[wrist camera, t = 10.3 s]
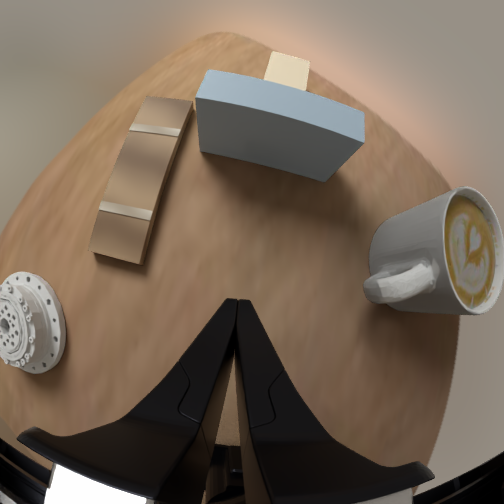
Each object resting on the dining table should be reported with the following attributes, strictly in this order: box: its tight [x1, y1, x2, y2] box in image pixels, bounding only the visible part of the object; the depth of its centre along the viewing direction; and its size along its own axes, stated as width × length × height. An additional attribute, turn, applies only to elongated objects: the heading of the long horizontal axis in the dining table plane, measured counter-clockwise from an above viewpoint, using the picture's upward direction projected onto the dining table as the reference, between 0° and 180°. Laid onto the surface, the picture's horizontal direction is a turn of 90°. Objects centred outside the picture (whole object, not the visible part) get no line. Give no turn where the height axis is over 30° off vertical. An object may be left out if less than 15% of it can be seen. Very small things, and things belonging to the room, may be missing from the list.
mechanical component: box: [0, 272, 66, 374], centre depth 17 cm, size 10×4×10 cm
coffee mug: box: [363, 186, 504, 315], centre depth 20 cm, size 13×10×10 cm
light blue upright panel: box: [195, 51, 364, 182], centre depth 21 cm, size 12×12×8 cm
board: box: [88, 96, 193, 265], centre depth 22 cm, size 16×5×1 cm, turn 168°
